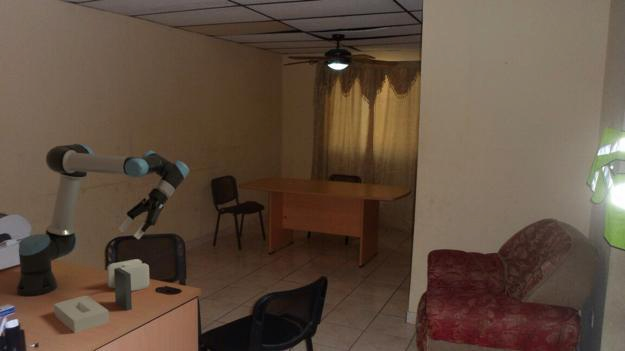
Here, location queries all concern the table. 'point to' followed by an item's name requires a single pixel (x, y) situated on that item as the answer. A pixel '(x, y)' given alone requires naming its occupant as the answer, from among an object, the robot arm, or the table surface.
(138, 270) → the cable organizer
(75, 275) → the table surface
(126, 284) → the cover plate
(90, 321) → the slotted box
